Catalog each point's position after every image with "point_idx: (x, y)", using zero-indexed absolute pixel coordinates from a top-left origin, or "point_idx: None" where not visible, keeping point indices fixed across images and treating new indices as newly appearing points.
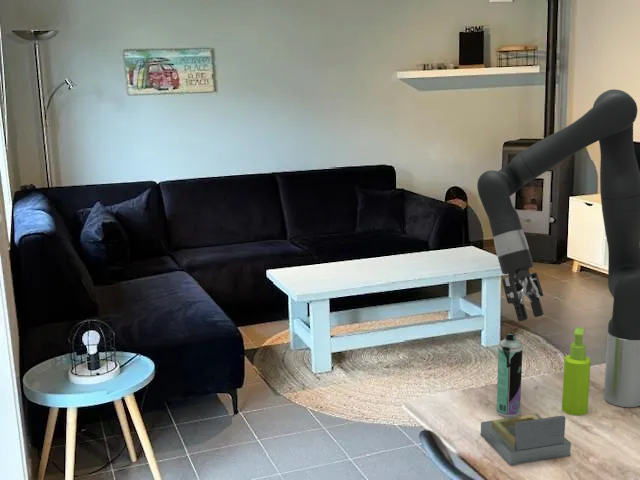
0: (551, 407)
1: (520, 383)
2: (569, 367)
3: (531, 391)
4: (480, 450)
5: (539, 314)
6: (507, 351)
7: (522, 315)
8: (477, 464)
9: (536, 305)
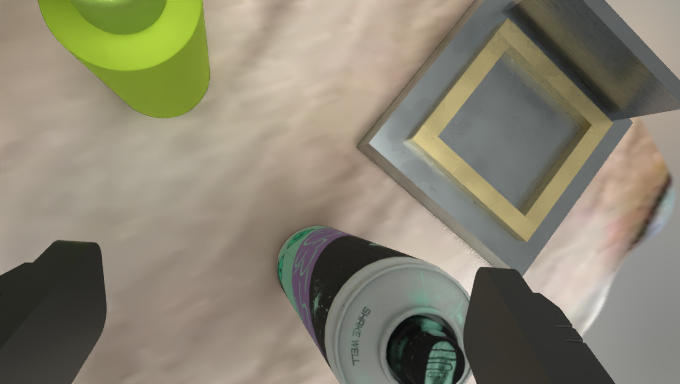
0: (190, 151)
1: (343, 236)
2: (199, 32)
3: None
4: (575, 228)
5: (93, 275)
6: None
7: (559, 313)
8: (638, 202)
9: (36, 357)
